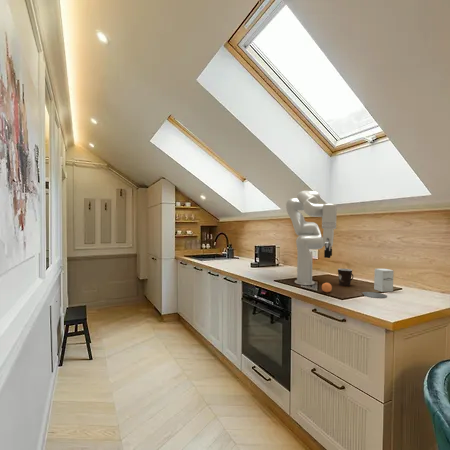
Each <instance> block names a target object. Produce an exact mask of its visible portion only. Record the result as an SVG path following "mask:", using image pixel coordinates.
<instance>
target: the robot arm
mask: <svg viewBox="0 0 450 450" xmlns="http://www.w3.org/2000/svg"><path fill="white" fill-rule="evenodd" d="M320 200H321V195H320V193H319V192H318V191H317V190H301V191H299V192H298V193H297V196H296V197H291V198H288V199H287V201H286V203H285V206H286V207H285V208H286V213H287V215H288V217H289V219H290V220H291V223H292V226H293V229H294V233H295V234H296V236H297V237H296V240H295V243H296V251H297V253H296V254H297V255H296V256H297V257H296V258H297V264H296V265H297V267H296V271H297V273H296V279H295V280H294V283H295V284H297V285H301V286H314V285H315V281H314V280H313V260H314V259H313V254H312V253H311V251H310V250H313V251H314V250H320V249H323V247H324V251H323V252H324V253H323V254H324V255H323V257H324V258H326V259H330V258H331V257H332V256H333V246H334V237H335V236H334V235H335V232H334V231H335V229H337V210H338V208H337V204H336V203H319V202H320ZM300 211H304V214H306V215H307V216H309V217H313V218H317V217H318V218H319V217H320V218H321V229H323V232H321V229H320V227H319V225H318V223H316V222H314V221H306V220H305V217H304V215H303V214H302V213H301V212H300Z"/></svg>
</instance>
